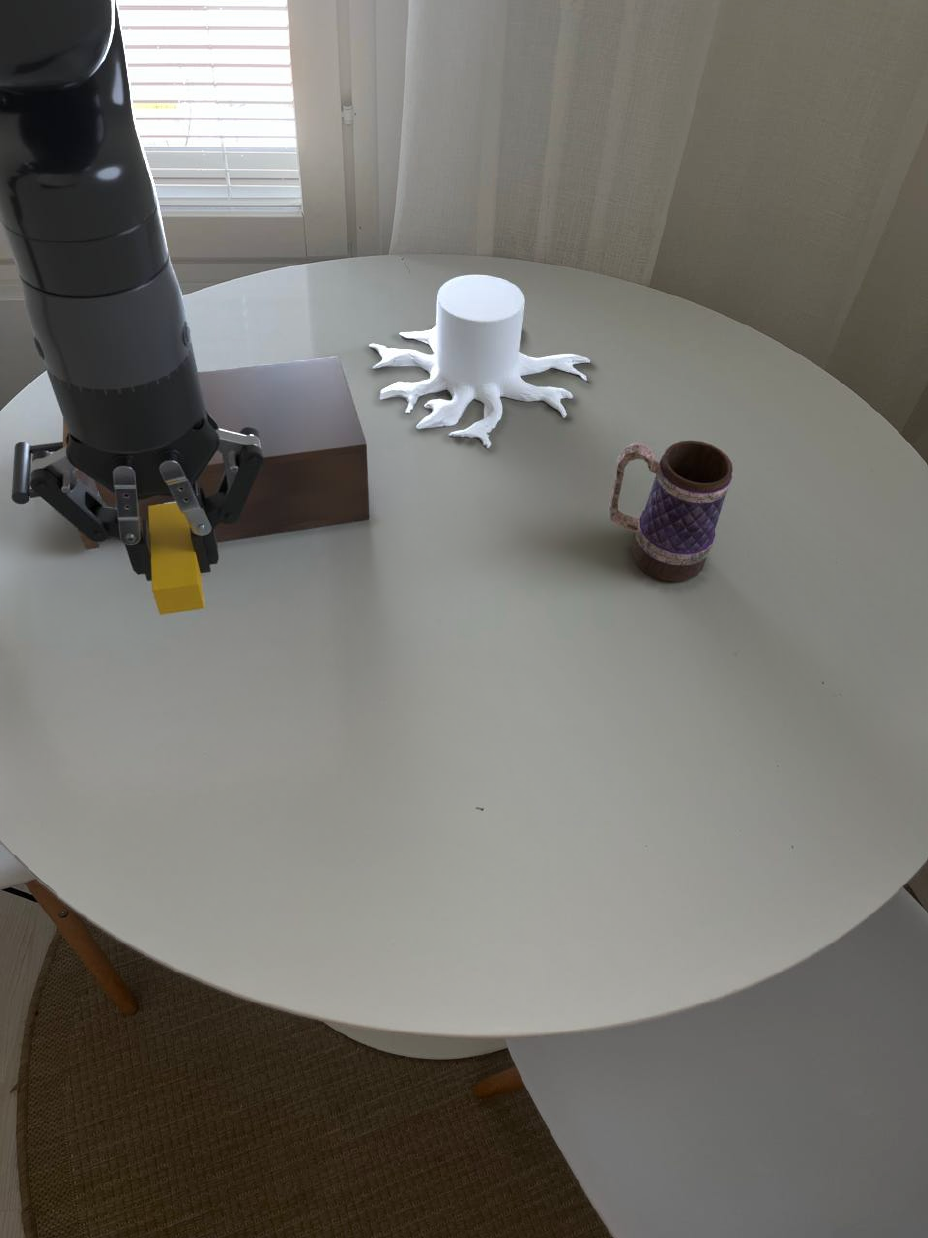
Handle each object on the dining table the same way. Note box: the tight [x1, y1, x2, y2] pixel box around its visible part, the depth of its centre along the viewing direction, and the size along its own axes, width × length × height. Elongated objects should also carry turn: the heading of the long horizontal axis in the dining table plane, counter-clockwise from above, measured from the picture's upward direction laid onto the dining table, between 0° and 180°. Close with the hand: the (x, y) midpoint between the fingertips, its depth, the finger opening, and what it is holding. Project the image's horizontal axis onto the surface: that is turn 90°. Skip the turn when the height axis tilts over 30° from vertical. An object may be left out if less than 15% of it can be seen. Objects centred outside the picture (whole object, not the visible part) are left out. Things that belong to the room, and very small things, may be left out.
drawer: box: [11, 418, 176, 551], centre depth 84 cm, size 20×12×7 cm, turn 105°
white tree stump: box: [368, 273, 591, 449], centre depth 100 cm, size 23×25×9 cm
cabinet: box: [198, 355, 371, 543], centre depth 86 cm, size 16×14×9 cm
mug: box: [608, 440, 734, 582], centre depth 82 cm, size 10×7×12 cm
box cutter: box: [148, 502, 206, 616], centre depth 60 cm, size 9×3×2 cm, turn 14°
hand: (178, 567), depth 61 cm, fingers closed on box cutter, 2 cm apart
